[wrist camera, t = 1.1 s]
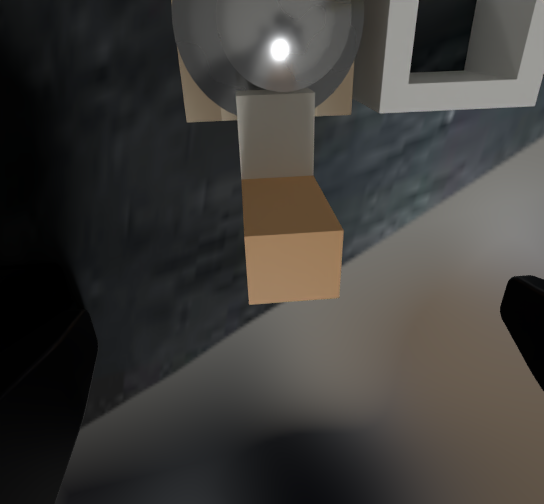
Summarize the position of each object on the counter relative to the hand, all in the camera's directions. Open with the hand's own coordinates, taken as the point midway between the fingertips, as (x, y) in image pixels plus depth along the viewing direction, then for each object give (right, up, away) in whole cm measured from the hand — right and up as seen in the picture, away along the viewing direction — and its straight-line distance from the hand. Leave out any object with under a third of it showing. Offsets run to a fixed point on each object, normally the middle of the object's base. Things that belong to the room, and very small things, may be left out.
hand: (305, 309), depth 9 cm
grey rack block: (+6, +11, +9) cm, 16 cm away
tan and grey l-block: (-1, +5, +6) cm, 7 cm away
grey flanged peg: (-1, +11, +9) cm, 14 cm away
